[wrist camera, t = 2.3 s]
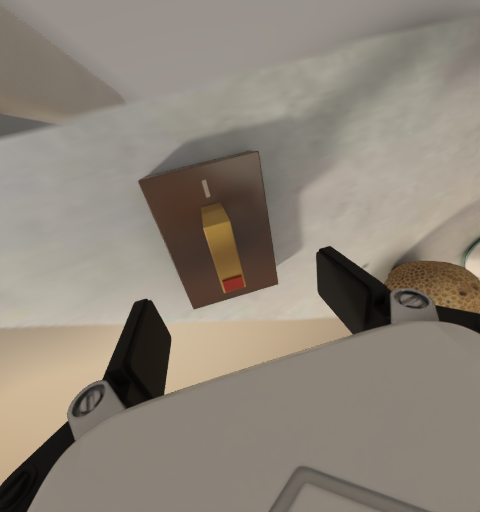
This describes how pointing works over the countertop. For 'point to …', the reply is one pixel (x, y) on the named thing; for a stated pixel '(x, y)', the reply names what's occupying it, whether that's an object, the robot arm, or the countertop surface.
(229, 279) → the thumbturn
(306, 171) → the countertop surface
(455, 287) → the natural sponge
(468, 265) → the can
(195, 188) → the plate
